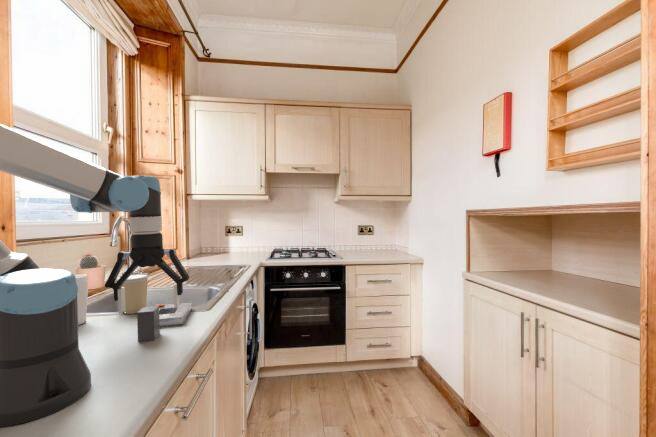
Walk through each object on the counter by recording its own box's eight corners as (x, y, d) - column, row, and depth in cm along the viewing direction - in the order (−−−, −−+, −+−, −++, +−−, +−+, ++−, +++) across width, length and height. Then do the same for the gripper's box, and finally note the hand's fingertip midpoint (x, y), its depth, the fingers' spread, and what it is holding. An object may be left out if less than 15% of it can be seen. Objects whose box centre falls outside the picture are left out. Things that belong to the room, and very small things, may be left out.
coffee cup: (154, 306, 113) (153, 274, 113) (134, 315, 104) (133, 280, 104) (132, 305, 115) (131, 273, 114) (110, 314, 105) (109, 279, 105)
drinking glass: (56, 329, 92) (54, 279, 92) (69, 321, 99) (67, 275, 98) (82, 326, 94) (80, 277, 93) (93, 319, 100) (92, 273, 100)
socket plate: (182, 324, 94) (182, 315, 94) (138, 329, 91) (138, 319, 91) (191, 309, 110) (191, 300, 110) (154, 312, 106) (154, 303, 106)
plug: (154, 340, 83) (153, 311, 83) (137, 342, 82) (137, 312, 81) (159, 333, 87) (159, 305, 87) (144, 335, 86) (143, 307, 86)
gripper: (197, 229, 91) (200, 300, 92) (100, 233, 85) (104, 309, 85) (193, 231, 84) (196, 308, 84) (86, 236, 77) (91, 319, 78)
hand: (150, 309), depth 85 cm, fingers open, 13 cm apart
